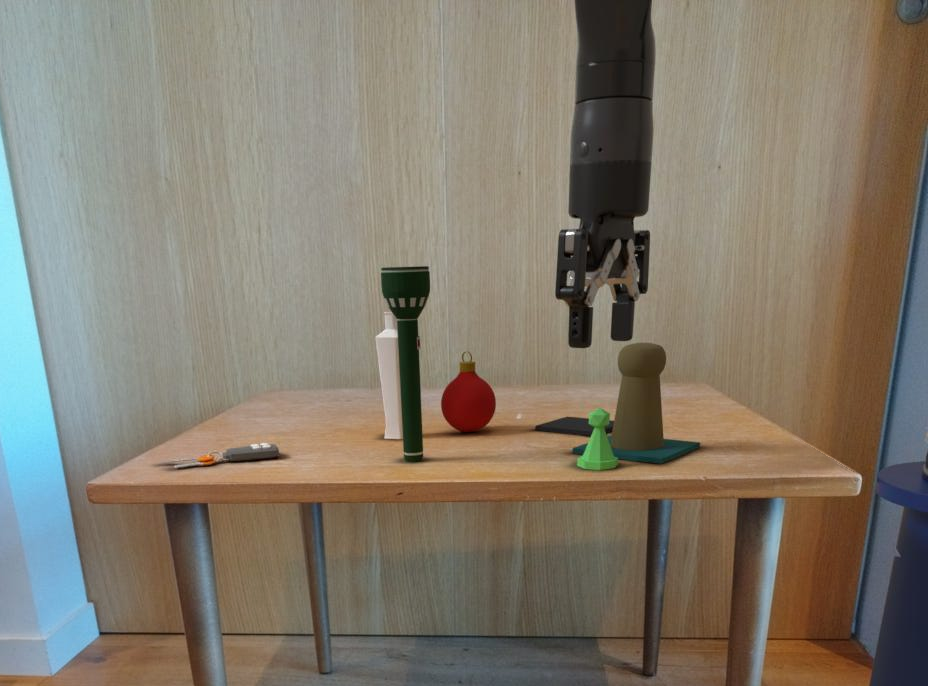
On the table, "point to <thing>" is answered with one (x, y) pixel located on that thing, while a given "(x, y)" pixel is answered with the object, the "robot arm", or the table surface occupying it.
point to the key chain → (235, 455)
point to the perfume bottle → (390, 376)
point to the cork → (639, 398)
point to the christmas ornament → (468, 400)
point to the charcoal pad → (572, 426)
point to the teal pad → (650, 451)
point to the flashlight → (408, 346)
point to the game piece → (598, 444)
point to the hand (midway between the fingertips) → (601, 344)
